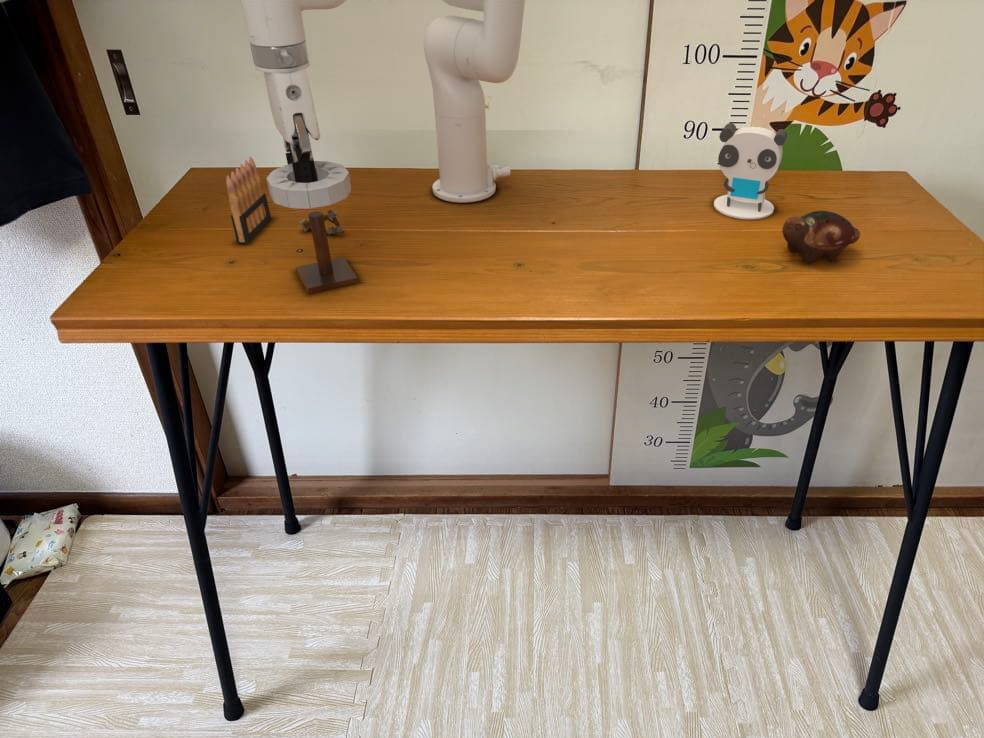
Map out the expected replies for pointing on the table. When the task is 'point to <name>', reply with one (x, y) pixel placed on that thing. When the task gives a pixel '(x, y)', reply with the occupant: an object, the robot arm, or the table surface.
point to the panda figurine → (748, 170)
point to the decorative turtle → (819, 235)
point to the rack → (324, 262)
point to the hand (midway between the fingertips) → (303, 180)
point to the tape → (309, 186)
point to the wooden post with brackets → (331, 214)
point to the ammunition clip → (247, 202)
